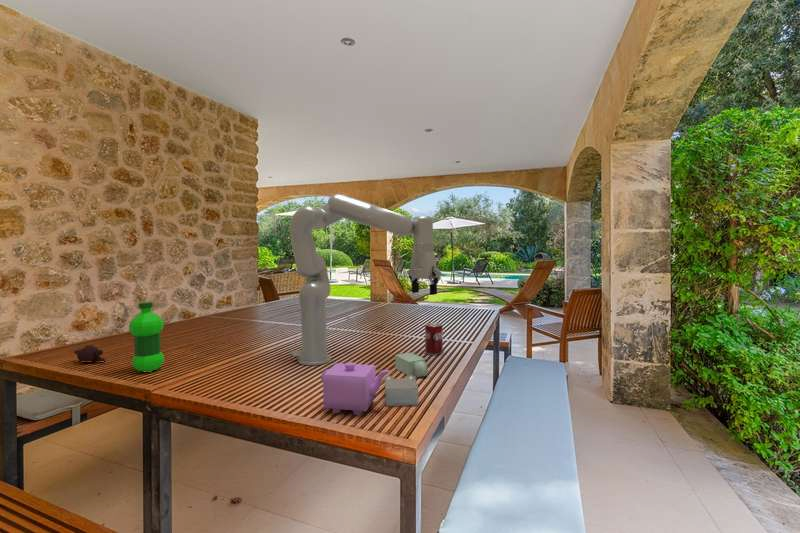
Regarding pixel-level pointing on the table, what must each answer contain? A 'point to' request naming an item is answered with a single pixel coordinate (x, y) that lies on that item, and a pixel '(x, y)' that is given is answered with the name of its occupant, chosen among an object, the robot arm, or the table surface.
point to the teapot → (350, 387)
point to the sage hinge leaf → (411, 364)
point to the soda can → (433, 338)
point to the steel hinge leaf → (401, 391)
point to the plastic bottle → (147, 339)
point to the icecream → (89, 354)
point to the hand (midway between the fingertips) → (424, 293)
